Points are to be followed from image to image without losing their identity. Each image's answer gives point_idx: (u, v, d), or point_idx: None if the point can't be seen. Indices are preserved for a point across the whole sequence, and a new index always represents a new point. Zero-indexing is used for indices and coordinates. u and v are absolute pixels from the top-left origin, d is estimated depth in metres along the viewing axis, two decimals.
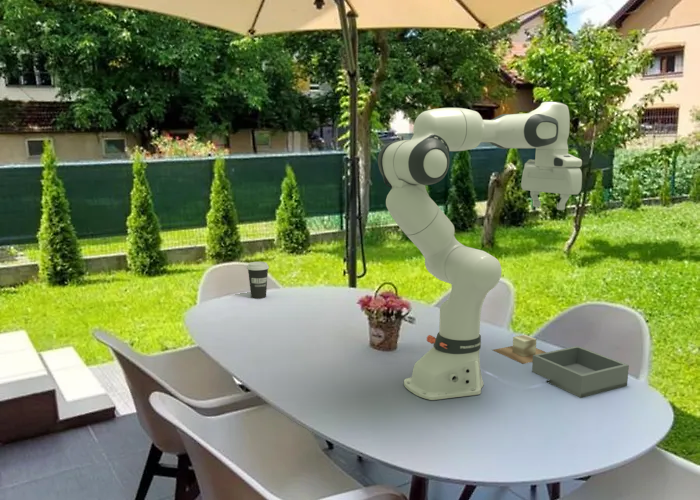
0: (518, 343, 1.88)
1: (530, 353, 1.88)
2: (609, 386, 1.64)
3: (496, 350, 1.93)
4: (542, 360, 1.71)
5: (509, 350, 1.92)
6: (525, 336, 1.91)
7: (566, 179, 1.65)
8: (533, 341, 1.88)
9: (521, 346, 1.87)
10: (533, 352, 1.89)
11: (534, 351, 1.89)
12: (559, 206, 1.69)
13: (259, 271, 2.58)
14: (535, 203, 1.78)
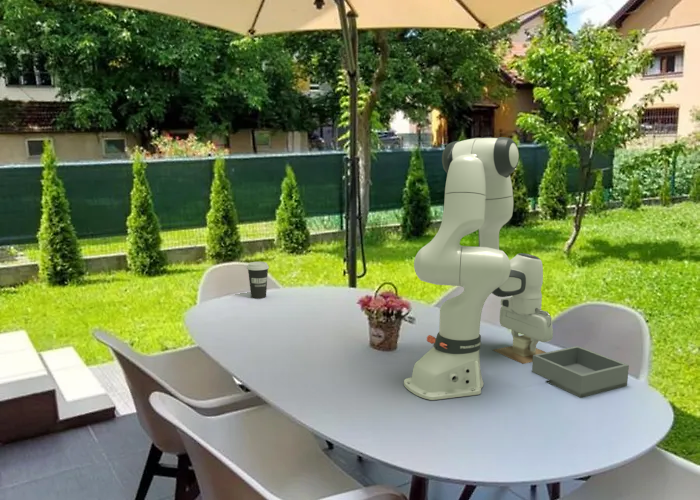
0: (518, 343, 1.88)
1: (530, 353, 1.88)
2: (609, 386, 1.64)
3: (496, 350, 1.93)
4: (542, 360, 1.71)
5: (509, 350, 1.92)
6: (525, 336, 1.91)
7: None
8: None
9: (521, 346, 1.87)
10: (533, 352, 1.89)
11: (534, 351, 1.89)
12: None
13: (259, 271, 2.58)
14: None
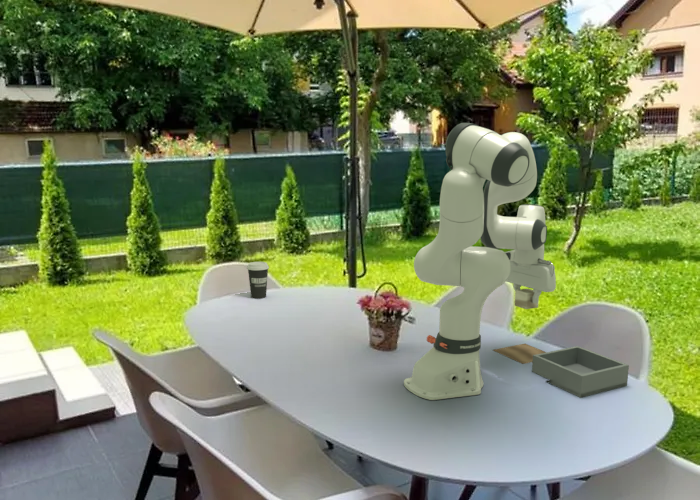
0: (521, 295, 1.85)
1: (533, 306, 1.85)
2: (609, 386, 1.64)
3: (496, 350, 1.93)
4: (542, 360, 1.71)
5: (509, 350, 1.92)
6: (527, 289, 1.88)
7: None
8: None
9: (524, 298, 1.84)
10: (536, 305, 1.86)
11: (537, 304, 1.86)
12: None
13: (259, 271, 2.58)
14: None
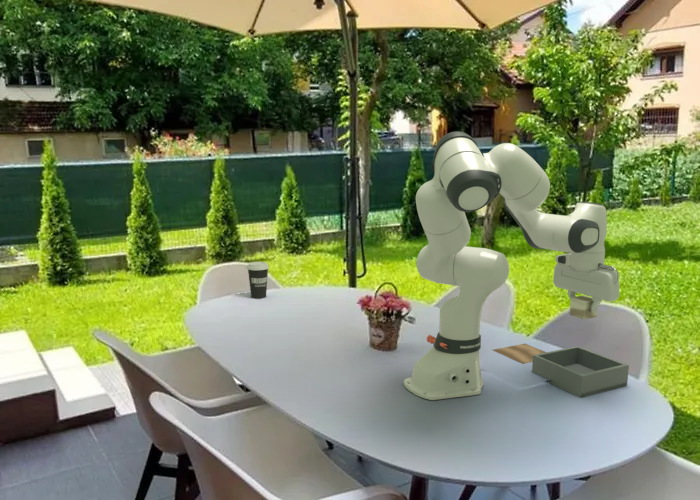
0: (578, 304, 1.66)
1: (591, 315, 1.66)
2: (609, 386, 1.64)
3: (496, 350, 1.93)
4: (542, 360, 1.71)
5: (509, 350, 1.92)
6: (584, 297, 1.68)
7: None
8: None
9: (581, 307, 1.65)
10: (594, 315, 1.66)
11: (595, 313, 1.66)
12: None
13: (259, 271, 2.58)
14: None
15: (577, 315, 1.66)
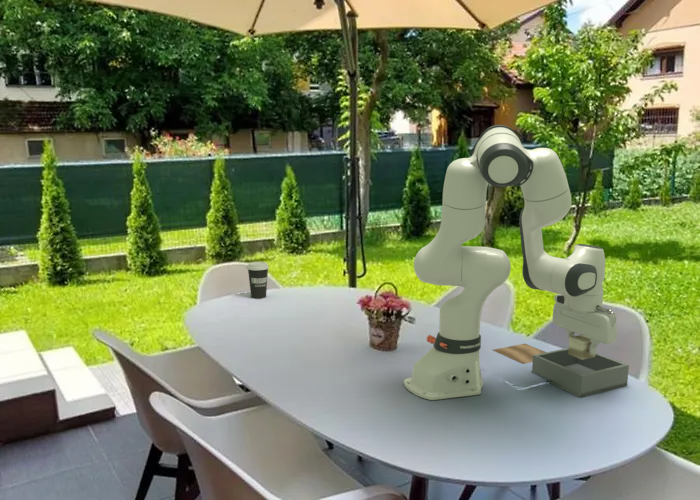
0: (576, 344, 1.67)
1: (589, 356, 1.67)
2: (609, 386, 1.64)
3: (496, 350, 1.93)
4: (542, 360, 1.71)
5: (509, 350, 1.92)
6: (583, 336, 1.70)
7: None
8: None
9: (579, 347, 1.66)
10: (592, 355, 1.68)
11: (593, 353, 1.68)
12: None
13: (259, 271, 2.58)
14: None
15: (575, 355, 1.68)
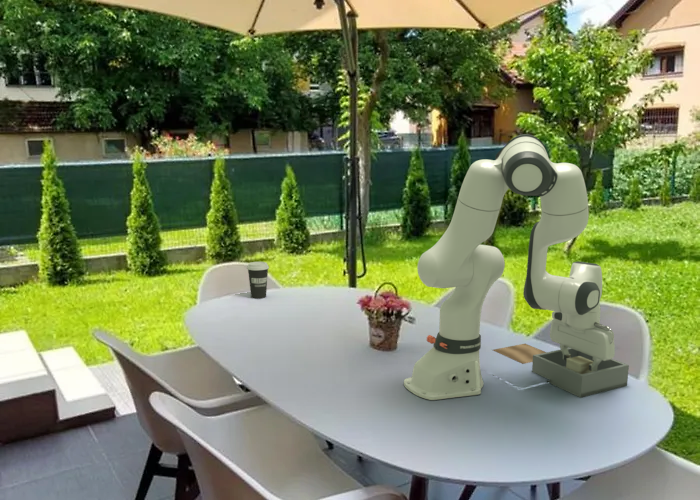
0: (573, 365, 1.69)
1: None
2: (609, 386, 1.64)
3: (496, 350, 1.93)
4: (542, 360, 1.71)
5: (509, 350, 1.92)
6: (580, 358, 1.72)
7: None
8: None
9: (577, 369, 1.68)
10: None
11: None
12: None
13: (259, 271, 2.58)
14: None
15: None
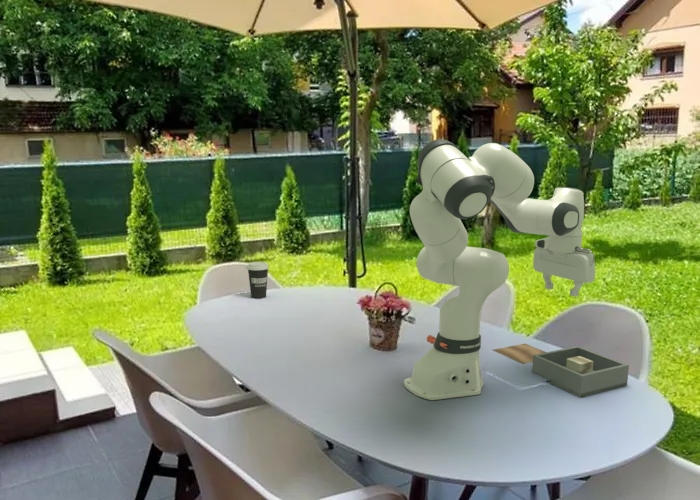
0: (573, 365, 1.69)
1: None
2: (609, 386, 1.64)
3: (496, 350, 1.93)
4: (542, 360, 1.71)
5: (509, 350, 1.92)
6: (580, 358, 1.72)
7: None
8: (590, 364, 1.69)
9: (577, 369, 1.68)
10: None
11: None
12: None
13: (259, 271, 2.58)
14: None
15: None
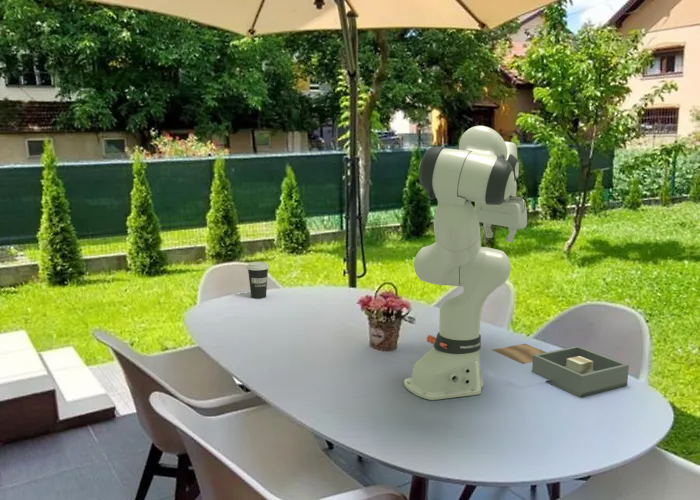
0: (573, 365, 1.69)
1: None
2: (609, 386, 1.64)
3: (496, 350, 1.93)
4: (542, 360, 1.71)
5: (509, 350, 1.92)
6: (580, 358, 1.72)
7: None
8: (590, 364, 1.69)
9: (577, 369, 1.68)
10: None
11: None
12: None
13: (259, 271, 2.58)
14: None
15: None
